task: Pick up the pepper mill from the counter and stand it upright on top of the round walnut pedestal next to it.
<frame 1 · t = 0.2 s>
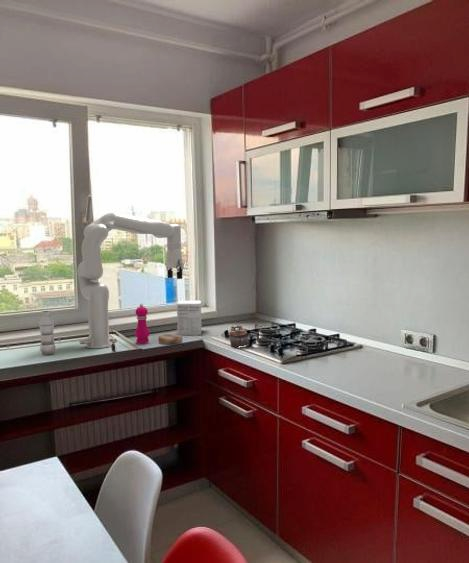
hand: (174, 278, 254), 31 cm above the worktop, tool pointing down, fingers open, 9 cm apart
walnut pedestal: (170, 342, 236), on the worktop
cupcake: (239, 346, 225), on the worktop
pepper mill: (142, 342, 236), on the worktop
plastic bottle: (48, 354, 213), on the worktop
supplement box: (189, 333, 260), on the worktop
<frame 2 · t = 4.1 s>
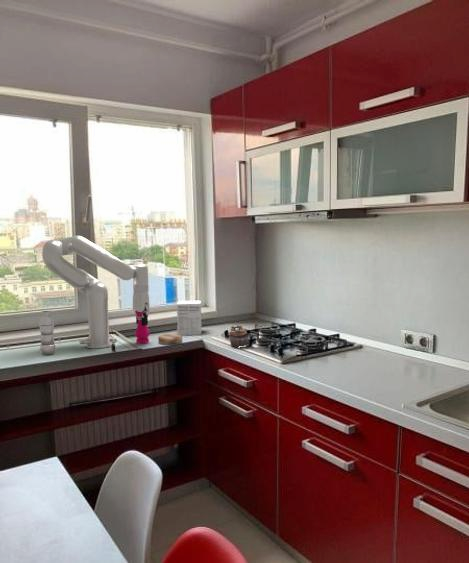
hand: (142, 324, 236), 9 cm above the worktop, tool pointing down, fingers closed on pepper mill, 5 cm apart
pepper mill: (142, 342, 236), on the worktop, touching gripper
everything else where it was.
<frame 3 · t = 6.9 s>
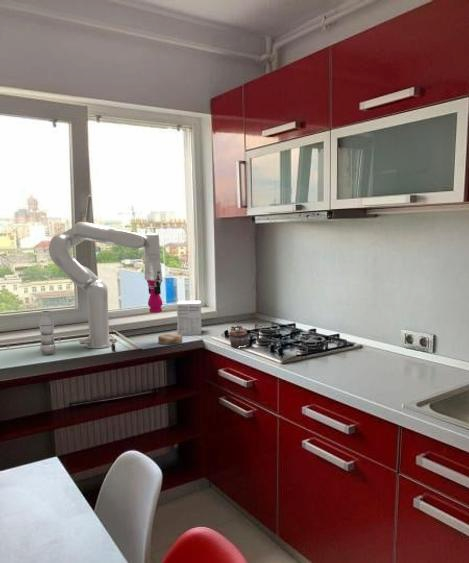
hand: (154, 293, 234), 25 cm above the worktop, tool pointing down, fingers closed on pepper mill, 5 cm apart
pepper mill: (155, 312, 235), point 15 cm above the worktop, touching gripper
everything else where it was.
when the fingers open (14 cm above the worktop, at t = 9.7 s): pepper mill drops 1 cm, resting on walnut pedestal.
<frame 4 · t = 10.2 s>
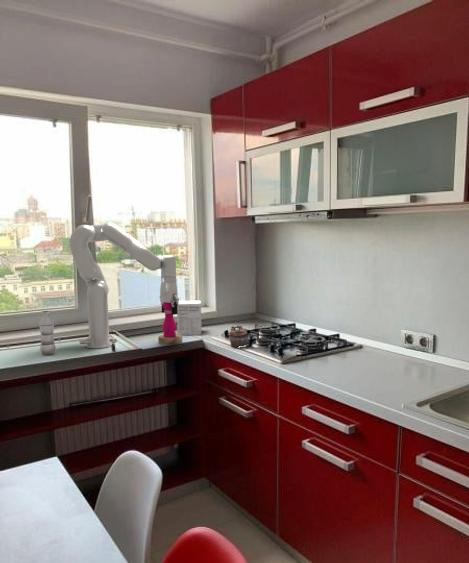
hand: (169, 313, 235), 15 cm above the worktop, tool pointing down, fingers open, 9 cm apart
pepper mill: (169, 336, 236), point 3 cm above the worktop, touching walnut pedestal
everything else where it was.
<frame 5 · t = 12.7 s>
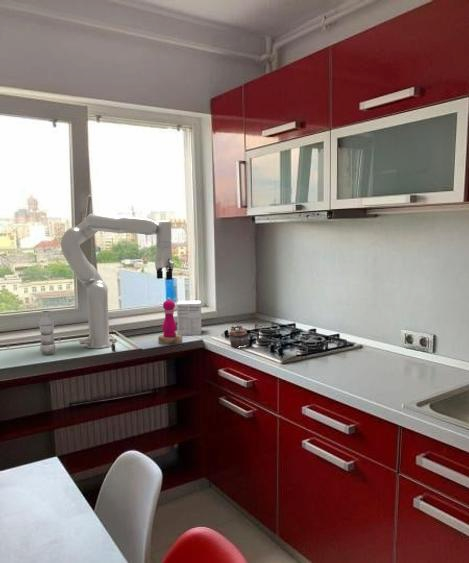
hand: (164, 279, 235), 32 cm above the worktop, tool pointing down, fingers open, 9 cm apart
nothing on the worktop moved.
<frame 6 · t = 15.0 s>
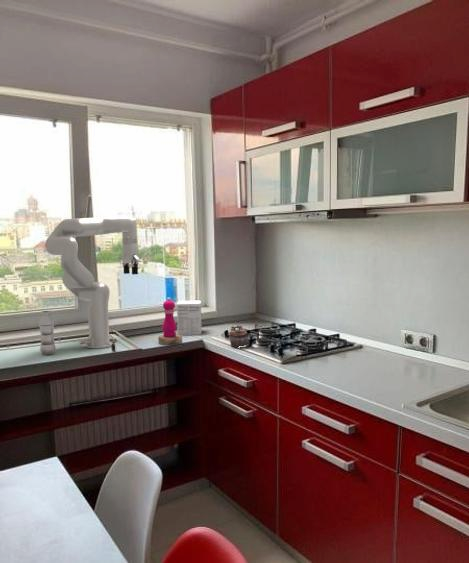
hand: (130, 273, 246), 34 cm above the worktop, tool pointing down, fingers open, 9 cm apart
nothing on the worktop moved.
at the end: pepper mill 0.2 cm off-centre on the walnut pedestal, point 2.8 cm above the walnut pedestal's base; pepper mill tilted 0°; the gripper is holding nothing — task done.
